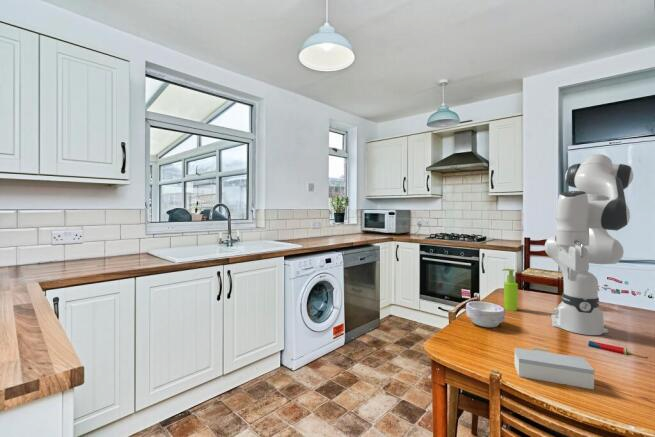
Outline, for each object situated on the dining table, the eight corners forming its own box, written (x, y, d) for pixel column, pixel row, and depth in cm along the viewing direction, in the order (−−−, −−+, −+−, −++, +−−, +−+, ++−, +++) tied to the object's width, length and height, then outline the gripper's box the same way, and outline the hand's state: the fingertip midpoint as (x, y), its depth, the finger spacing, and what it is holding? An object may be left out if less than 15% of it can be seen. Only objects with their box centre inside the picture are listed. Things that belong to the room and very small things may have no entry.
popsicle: (646, 356, 105) (588, 343, 115) (646, 361, 105) (588, 347, 115) (645, 352, 108) (588, 340, 118) (645, 356, 108) (588, 344, 118)
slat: (532, 355, 109) (532, 346, 109) (546, 357, 107) (546, 348, 107) (545, 378, 94) (545, 368, 94) (561, 381, 92) (561, 371, 92)
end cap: (514, 364, 102) (514, 347, 102) (583, 375, 95) (583, 357, 95) (518, 376, 94) (519, 358, 94) (593, 389, 87) (594, 370, 87)
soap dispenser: (502, 306, 164) (502, 267, 163) (517, 308, 159) (518, 269, 159) (500, 308, 159) (501, 269, 158) (516, 311, 155) (517, 270, 154)
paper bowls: (513, 327, 133) (513, 309, 133) (484, 332, 129) (484, 312, 128) (485, 316, 148) (485, 299, 148) (458, 319, 143) (458, 302, 143)
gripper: (595, 243, 95) (595, 288, 96) (574, 236, 114) (574, 274, 115) (570, 242, 98) (569, 286, 99) (553, 236, 117) (553, 273, 117)
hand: (571, 280), depth 107 cm, fingers closed
